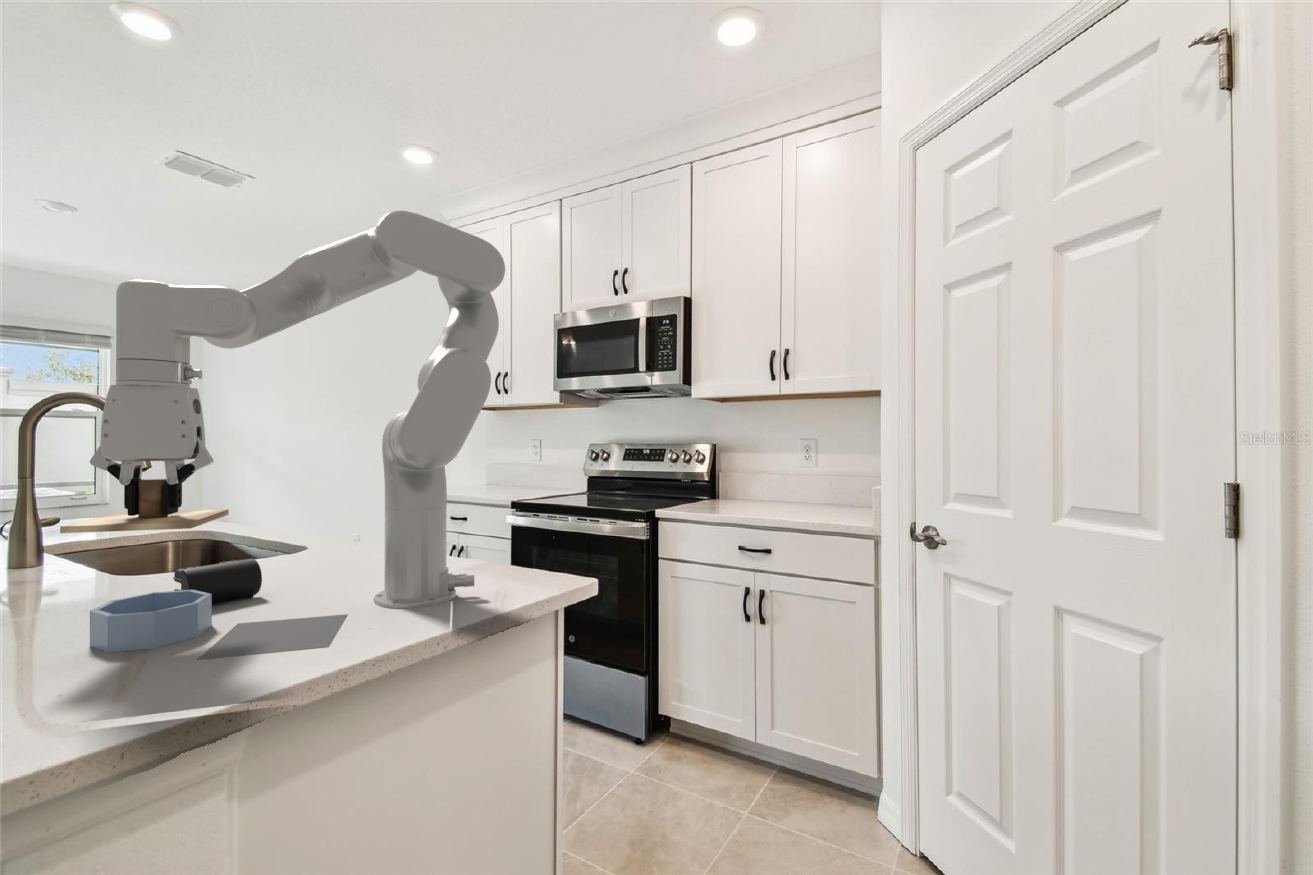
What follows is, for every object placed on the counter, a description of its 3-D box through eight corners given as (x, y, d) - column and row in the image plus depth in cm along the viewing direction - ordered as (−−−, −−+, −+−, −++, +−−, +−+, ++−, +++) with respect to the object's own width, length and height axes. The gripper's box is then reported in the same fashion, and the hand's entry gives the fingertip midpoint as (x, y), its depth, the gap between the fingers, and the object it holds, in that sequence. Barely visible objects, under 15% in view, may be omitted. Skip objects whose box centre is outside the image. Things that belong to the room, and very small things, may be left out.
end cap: (189, 617, 88) (189, 572, 88) (170, 609, 92) (170, 566, 92) (262, 601, 97) (262, 560, 97) (242, 594, 101) (242, 555, 101)
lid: (228, 514, 87) (228, 475, 87) (190, 528, 74) (191, 482, 74) (119, 518, 82) (119, 476, 82) (60, 533, 70) (60, 484, 70)
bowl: (220, 621, 86) (220, 587, 86) (186, 649, 75) (186, 610, 75) (124, 629, 82) (123, 594, 82) (73, 659, 71) (73, 619, 71)
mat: (347, 618, 88) (347, 614, 88) (328, 651, 75) (328, 646, 75) (238, 627, 84) (238, 623, 83) (196, 664, 70) (196, 659, 70)
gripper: (236, 381, 85) (235, 508, 85) (93, 376, 79) (93, 512, 79) (215, 376, 77) (215, 515, 78) (57, 371, 72) (57, 520, 72)
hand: (153, 512), depth 79 cm, fingers closed on lid, 3 cm apart
